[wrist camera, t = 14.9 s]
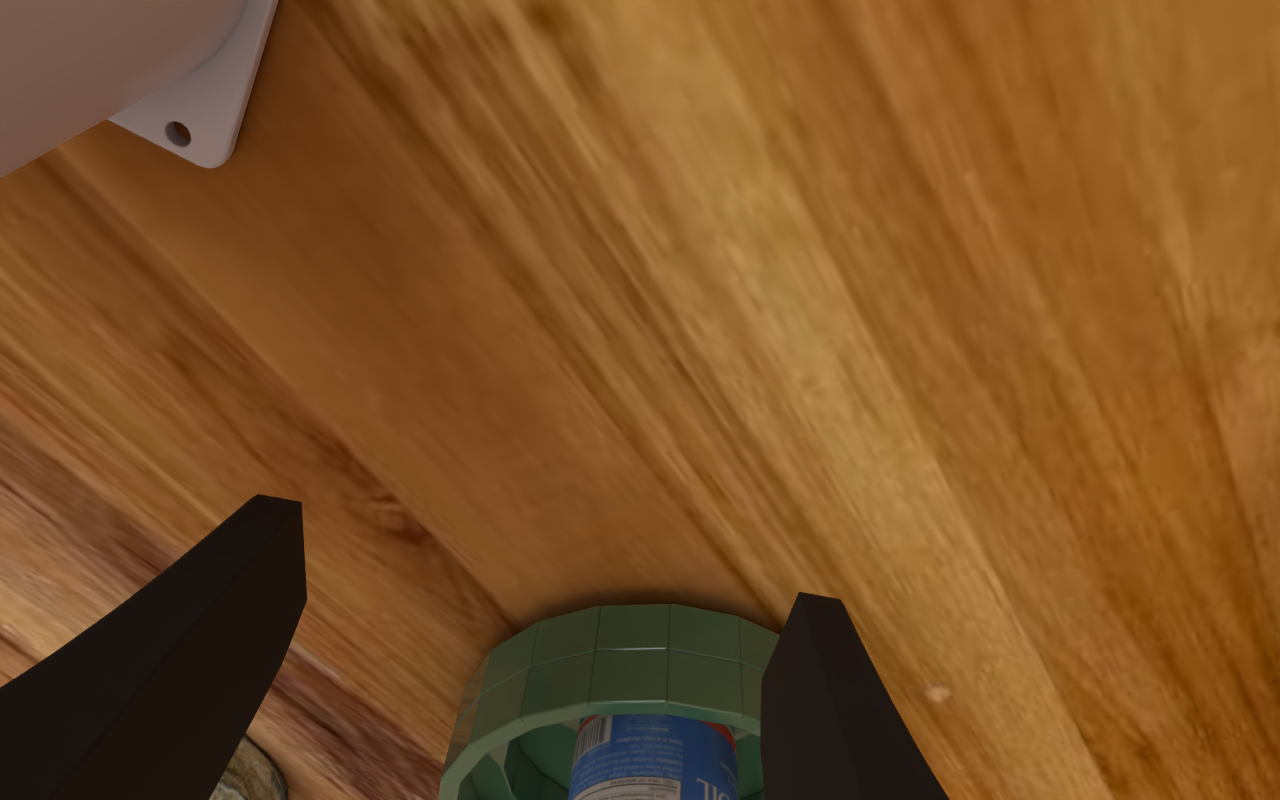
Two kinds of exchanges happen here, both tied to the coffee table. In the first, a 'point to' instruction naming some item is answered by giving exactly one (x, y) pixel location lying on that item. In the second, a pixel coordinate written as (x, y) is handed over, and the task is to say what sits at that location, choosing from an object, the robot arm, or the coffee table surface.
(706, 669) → the bowl
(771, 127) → the coffee table surface
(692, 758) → the pill bottle
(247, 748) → the seashell
